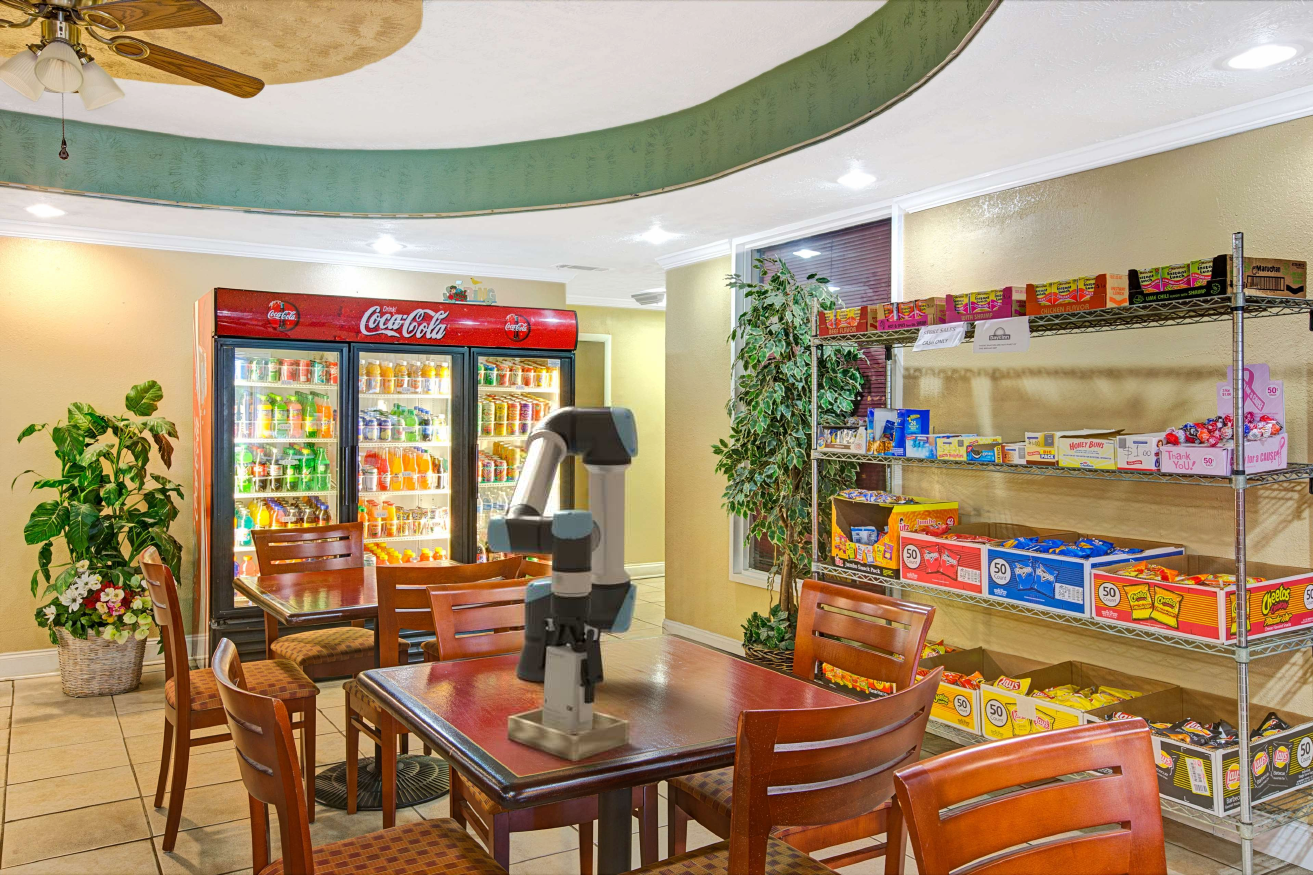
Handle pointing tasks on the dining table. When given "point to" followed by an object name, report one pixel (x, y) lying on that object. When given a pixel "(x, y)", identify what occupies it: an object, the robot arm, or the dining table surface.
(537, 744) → the tray
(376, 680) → the dining table surface
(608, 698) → the dining table surface
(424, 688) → the dining table surface
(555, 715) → the skincare box
